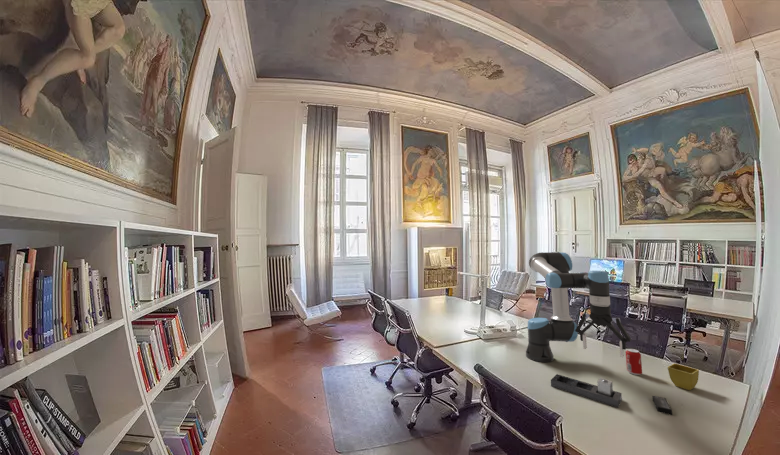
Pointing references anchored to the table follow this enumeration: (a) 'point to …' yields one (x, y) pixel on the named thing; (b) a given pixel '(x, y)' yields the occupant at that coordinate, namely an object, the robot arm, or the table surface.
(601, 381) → the block
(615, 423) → the table surface
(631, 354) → the beverage can
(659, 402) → the multiport hub
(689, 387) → the flower pot
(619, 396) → the rack rail
